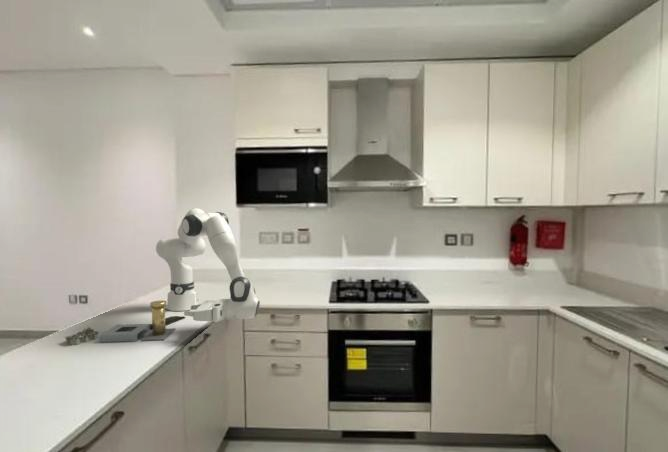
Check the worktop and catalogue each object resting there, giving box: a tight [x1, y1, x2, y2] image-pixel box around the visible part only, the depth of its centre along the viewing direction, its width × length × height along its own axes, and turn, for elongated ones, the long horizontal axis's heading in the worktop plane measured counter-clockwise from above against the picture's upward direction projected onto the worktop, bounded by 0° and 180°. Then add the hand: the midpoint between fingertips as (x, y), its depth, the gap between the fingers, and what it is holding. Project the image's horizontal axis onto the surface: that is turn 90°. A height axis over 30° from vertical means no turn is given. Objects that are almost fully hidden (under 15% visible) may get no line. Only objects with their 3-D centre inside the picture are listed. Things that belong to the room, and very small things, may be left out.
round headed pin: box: [149, 300, 167, 336], centre depth 156 cm, size 6×6×14 cm
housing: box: [99, 323, 152, 343], centre depth 155 cm, size 14×14×3 cm
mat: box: [140, 327, 176, 342], centre depth 156 cm, size 14×9×1 cm, turn 6°
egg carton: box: [64, 326, 100, 346], centre depth 150 cm, size 11×8×4 cm
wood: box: [150, 315, 186, 330], centre depth 174 cm, size 22×7×3 cm, turn 164°
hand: (187, 310), depth 157 cm, fingers open, 8 cm apart
